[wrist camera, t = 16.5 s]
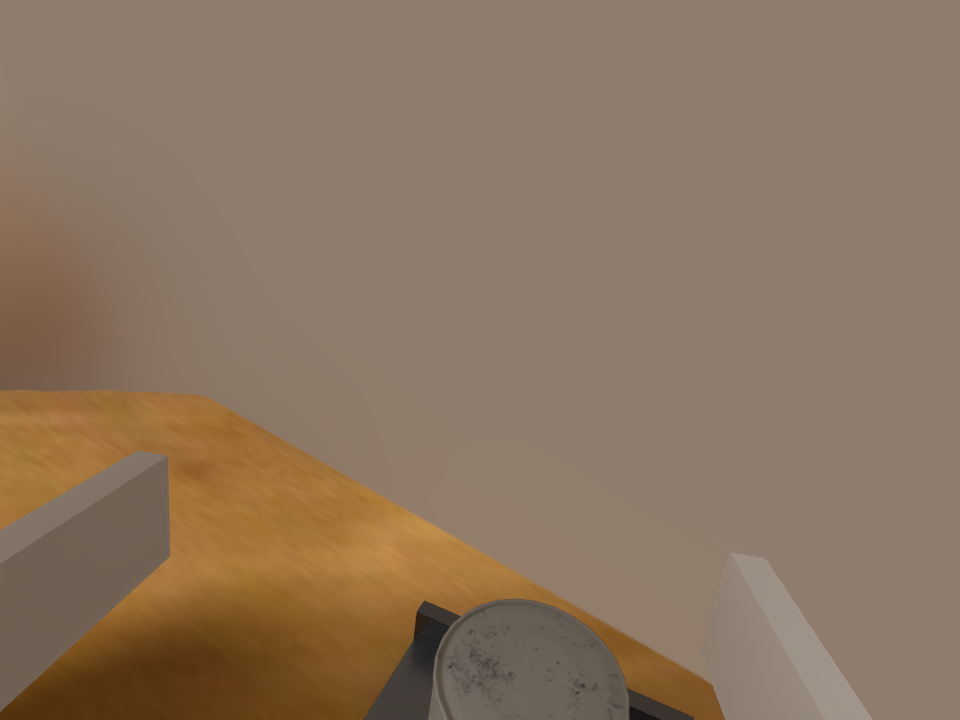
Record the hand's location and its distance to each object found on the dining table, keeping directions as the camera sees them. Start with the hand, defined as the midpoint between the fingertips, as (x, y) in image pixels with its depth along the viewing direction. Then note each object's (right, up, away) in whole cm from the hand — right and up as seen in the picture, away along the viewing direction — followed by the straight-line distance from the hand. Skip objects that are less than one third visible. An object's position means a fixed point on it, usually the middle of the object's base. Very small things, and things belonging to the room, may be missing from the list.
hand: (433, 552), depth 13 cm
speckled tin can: (+2, -22, +19) cm, 29 cm away
